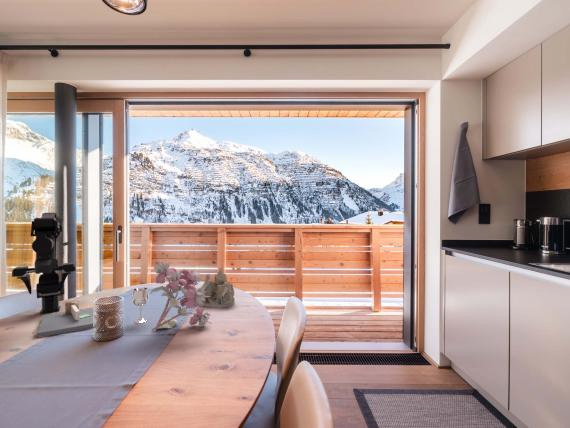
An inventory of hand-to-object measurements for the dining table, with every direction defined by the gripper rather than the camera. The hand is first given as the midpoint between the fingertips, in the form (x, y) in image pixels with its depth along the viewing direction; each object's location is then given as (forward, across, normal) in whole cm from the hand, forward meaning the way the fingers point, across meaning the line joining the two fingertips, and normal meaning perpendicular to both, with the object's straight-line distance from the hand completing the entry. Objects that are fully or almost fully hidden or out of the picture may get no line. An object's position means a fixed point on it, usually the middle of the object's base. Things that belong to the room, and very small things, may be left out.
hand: (46, 292), depth 118 cm
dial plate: (+11, +7, -7) cm, 15 cm away
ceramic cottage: (+11, +62, -14) cm, 64 cm away
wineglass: (+11, +30, -20) cm, 38 cm away
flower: (+11, +43, -35) cm, 57 cm away
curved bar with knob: (+9, +9, -4) cm, 14 cm away
